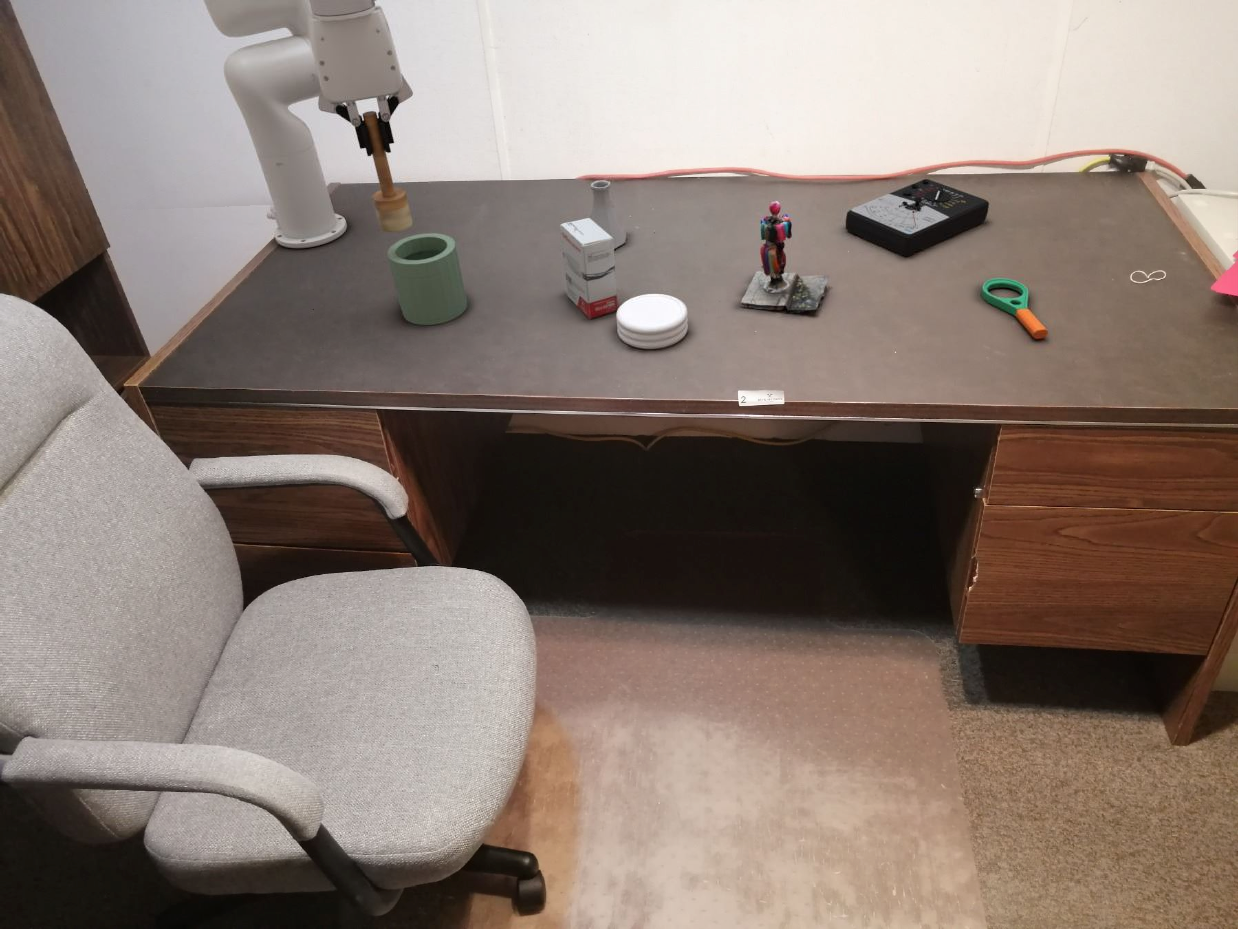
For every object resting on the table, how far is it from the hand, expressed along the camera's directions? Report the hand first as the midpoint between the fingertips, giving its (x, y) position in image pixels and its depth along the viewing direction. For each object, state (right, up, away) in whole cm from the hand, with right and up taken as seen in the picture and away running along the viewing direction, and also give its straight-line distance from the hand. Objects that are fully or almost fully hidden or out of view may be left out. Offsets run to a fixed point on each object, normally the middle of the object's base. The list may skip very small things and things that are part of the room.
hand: (378, 150), depth 119 cm
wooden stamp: (+1, -8, +7) cm, 11 cm away
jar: (+4, -18, +17) cm, 25 cm away
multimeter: (+81, -3, +27) cm, 85 cm away
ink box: (+28, -18, +15) cm, 37 cm away
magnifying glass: (+88, -21, +5) cm, 90 cm away
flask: (+30, -5, +30) cm, 43 cm away
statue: (+57, -17, +12) cm, 61 cm away
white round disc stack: (+37, -23, +7) cm, 44 cm away
